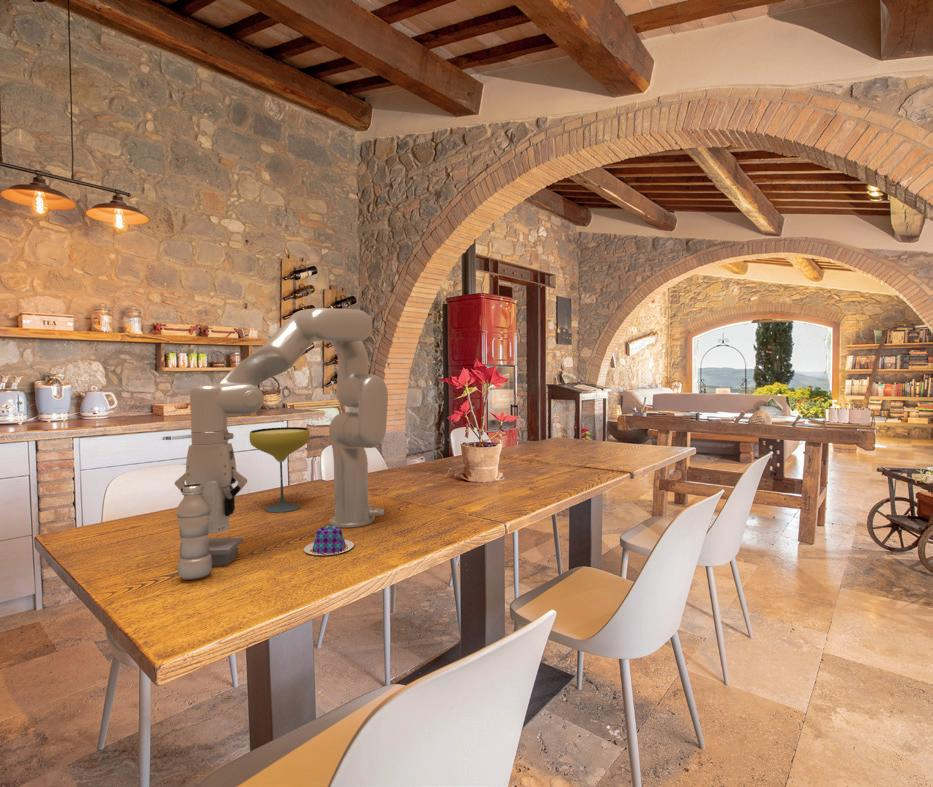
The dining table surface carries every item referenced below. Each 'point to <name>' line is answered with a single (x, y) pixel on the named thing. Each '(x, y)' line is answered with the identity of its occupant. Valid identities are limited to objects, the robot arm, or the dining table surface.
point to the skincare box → (216, 507)
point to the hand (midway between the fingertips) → (212, 514)
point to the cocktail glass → (280, 452)
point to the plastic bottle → (194, 533)
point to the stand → (223, 550)
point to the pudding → (328, 541)
